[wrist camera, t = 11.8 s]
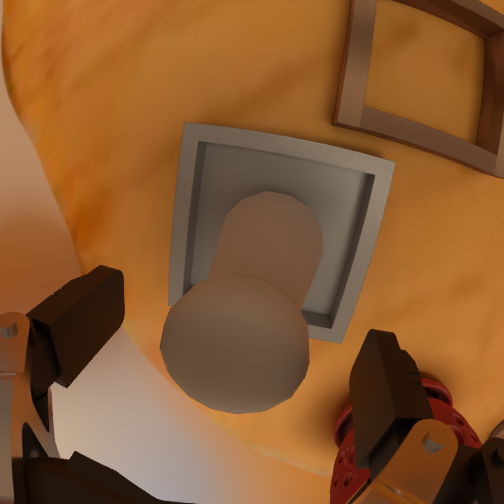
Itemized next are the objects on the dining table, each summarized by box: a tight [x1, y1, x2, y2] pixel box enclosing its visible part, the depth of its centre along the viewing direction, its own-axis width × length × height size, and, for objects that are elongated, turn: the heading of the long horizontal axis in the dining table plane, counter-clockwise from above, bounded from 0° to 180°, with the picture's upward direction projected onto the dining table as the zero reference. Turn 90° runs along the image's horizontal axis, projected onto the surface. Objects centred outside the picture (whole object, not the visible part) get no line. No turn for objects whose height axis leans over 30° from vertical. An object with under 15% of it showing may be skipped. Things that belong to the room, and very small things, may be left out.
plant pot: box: [330, 378, 482, 504], centre depth 19 cm, size 13×13×12 cm
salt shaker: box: [160, 191, 324, 414], centre depth 14 cm, size 6×6×13 cm
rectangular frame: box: [332, 0, 504, 179], centre depth 14 cm, size 11×11×3 cm
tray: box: [168, 122, 396, 343], centre depth 19 cm, size 12×12×2 cm
